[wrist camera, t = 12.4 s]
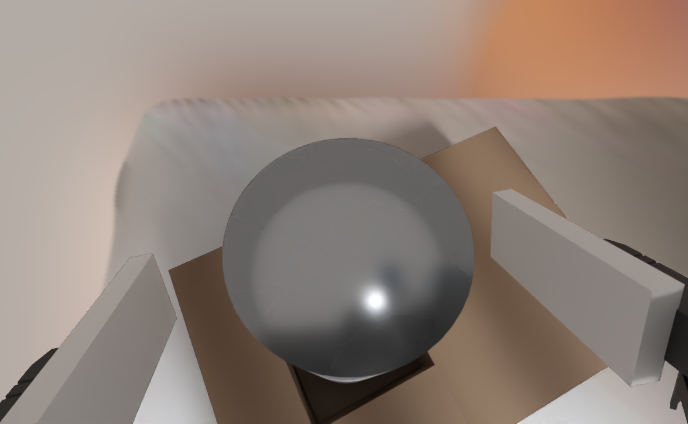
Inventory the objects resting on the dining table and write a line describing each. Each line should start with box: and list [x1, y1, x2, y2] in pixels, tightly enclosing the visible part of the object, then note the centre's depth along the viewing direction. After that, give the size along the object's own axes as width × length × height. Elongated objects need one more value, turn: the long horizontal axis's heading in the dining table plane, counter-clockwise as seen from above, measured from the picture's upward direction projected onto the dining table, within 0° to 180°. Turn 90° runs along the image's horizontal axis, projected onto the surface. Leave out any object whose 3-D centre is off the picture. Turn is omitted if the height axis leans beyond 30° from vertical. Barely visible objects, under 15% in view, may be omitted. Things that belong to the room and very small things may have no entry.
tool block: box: [169, 127, 608, 424], centre depth 18 cm, size 18×12×4 cm, turn 116°
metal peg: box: [222, 138, 474, 384], centre depth 12 cm, size 4×4×14 cm
